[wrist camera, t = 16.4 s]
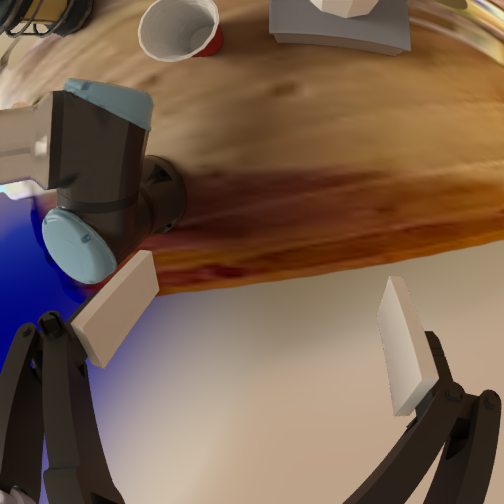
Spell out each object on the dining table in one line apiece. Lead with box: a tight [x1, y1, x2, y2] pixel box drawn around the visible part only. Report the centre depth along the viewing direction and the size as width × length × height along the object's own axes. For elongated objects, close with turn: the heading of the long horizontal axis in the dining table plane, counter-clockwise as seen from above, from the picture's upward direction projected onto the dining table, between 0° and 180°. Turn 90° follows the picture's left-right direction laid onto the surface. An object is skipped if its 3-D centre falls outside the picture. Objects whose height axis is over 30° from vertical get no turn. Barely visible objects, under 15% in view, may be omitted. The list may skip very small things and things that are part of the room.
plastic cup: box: [138, 0, 223, 62], centre depth 29 cm, size 11×11×12 cm
